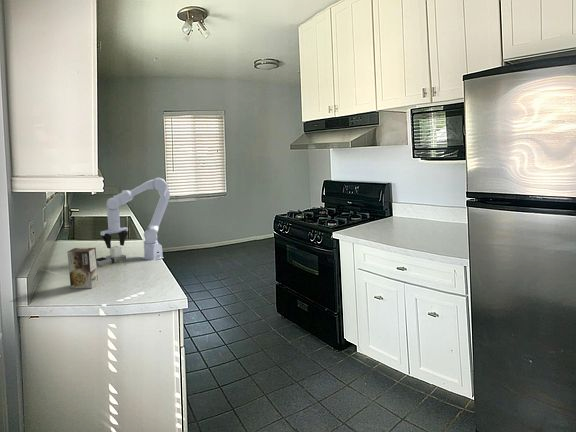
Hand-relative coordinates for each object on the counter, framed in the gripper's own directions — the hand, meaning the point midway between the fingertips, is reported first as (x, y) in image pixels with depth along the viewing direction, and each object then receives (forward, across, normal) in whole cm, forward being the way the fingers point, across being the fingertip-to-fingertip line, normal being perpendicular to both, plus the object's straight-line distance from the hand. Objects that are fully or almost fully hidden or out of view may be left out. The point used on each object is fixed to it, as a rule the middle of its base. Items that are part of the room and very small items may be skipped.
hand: (115, 246), depth 203 cm
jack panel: (+8, +4, 0) cm, 9 cm away
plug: (+7, 0, 0) cm, 7 cm away
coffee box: (+8, +32, +24) cm, 40 cm away
